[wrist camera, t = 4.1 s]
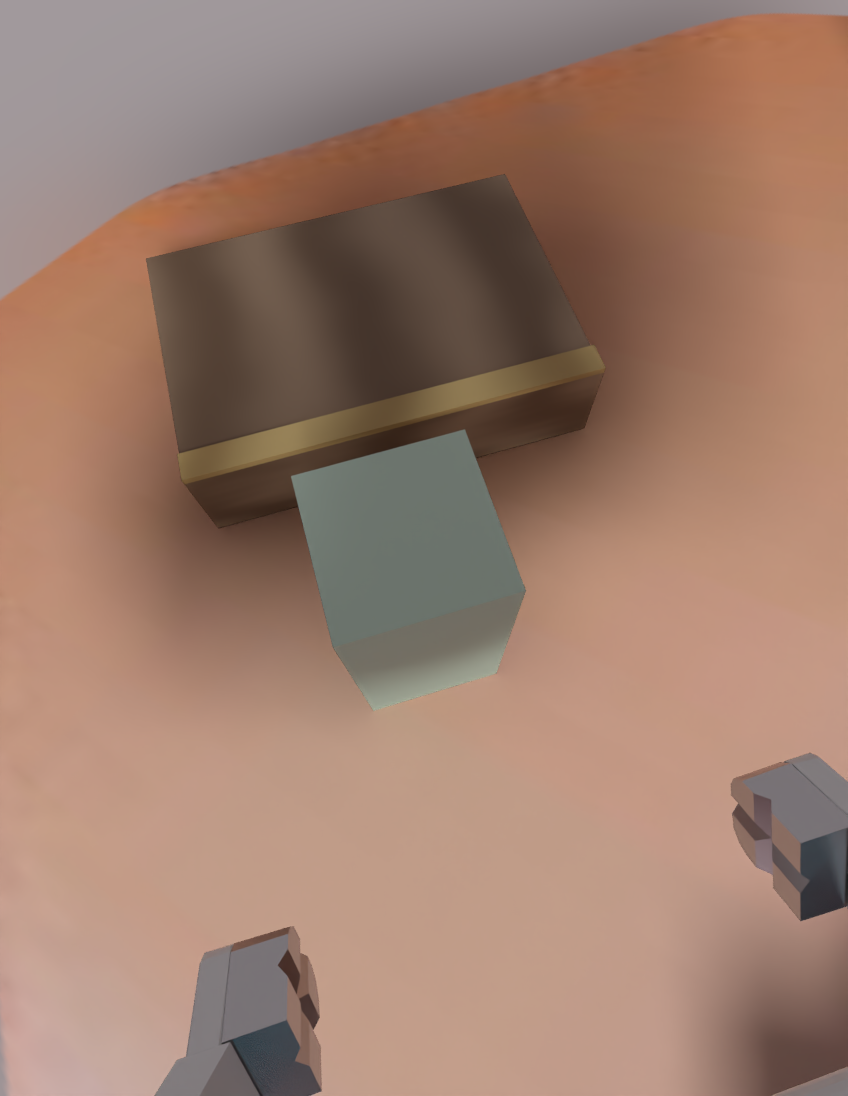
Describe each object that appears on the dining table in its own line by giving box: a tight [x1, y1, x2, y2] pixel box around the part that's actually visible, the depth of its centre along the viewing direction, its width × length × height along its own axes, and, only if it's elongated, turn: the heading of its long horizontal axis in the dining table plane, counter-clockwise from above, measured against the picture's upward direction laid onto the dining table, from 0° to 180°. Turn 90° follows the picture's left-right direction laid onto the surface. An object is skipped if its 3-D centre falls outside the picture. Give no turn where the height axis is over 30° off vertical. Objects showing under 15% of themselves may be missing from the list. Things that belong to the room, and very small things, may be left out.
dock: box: [146, 174, 606, 528], centre depth 29 cm, size 17×12×4 cm
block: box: [291, 429, 526, 711], centre depth 22 cm, size 5×5×10 cm
